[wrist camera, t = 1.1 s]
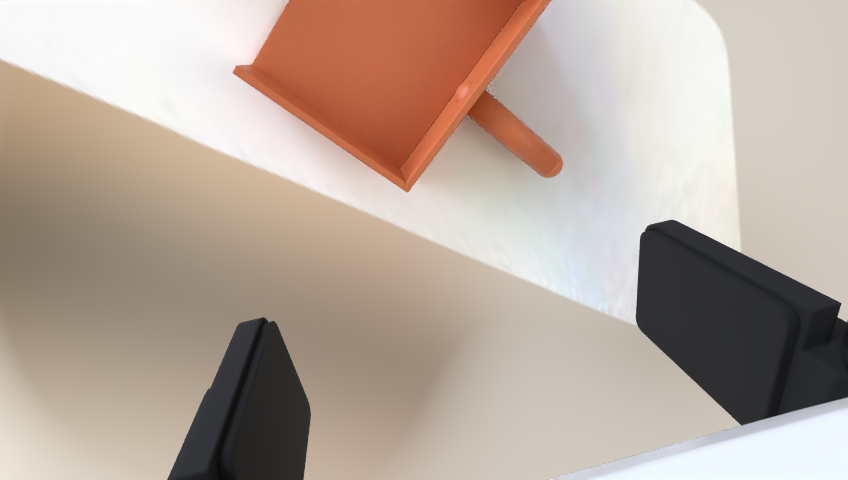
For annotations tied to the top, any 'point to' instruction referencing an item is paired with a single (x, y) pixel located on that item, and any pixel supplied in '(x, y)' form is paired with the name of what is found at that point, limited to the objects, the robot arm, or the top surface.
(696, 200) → the top surface
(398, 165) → the dustpan
